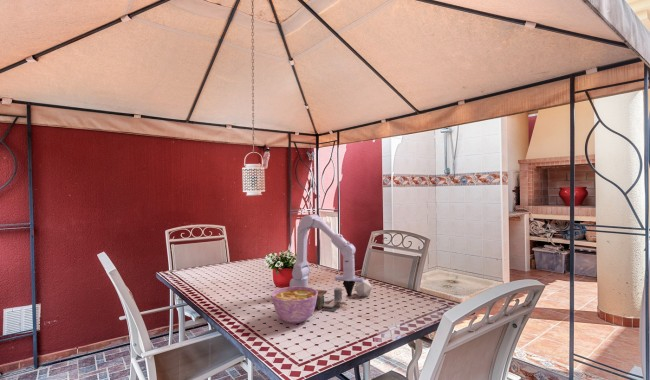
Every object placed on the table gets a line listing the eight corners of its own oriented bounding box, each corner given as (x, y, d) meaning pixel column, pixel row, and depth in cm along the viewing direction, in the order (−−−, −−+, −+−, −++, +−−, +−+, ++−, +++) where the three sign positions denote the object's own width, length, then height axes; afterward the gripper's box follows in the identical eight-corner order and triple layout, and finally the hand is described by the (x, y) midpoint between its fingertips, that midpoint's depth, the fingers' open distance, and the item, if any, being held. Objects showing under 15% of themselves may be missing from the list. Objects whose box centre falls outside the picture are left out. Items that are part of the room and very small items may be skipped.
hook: (312, 307, 153) (311, 294, 153) (323, 297, 167) (323, 286, 167) (331, 309, 150) (331, 297, 150) (341, 299, 163) (341, 288, 163)
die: (367, 300, 163) (376, 283, 167) (351, 291, 165) (361, 274, 168) (365, 301, 171) (373, 284, 175) (350, 292, 173) (359, 276, 176)
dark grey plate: (322, 310, 149) (322, 309, 149) (328, 304, 157) (328, 304, 157) (334, 312, 147) (334, 311, 147) (340, 306, 155) (340, 305, 155)
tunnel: (308, 308, 152) (308, 294, 152) (316, 302, 160) (315, 289, 160) (320, 310, 150) (320, 295, 150) (327, 304, 157) (327, 290, 157)
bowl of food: (276, 311, 149) (276, 286, 149) (319, 311, 149) (319, 286, 149) (267, 329, 129) (267, 301, 129) (317, 329, 129) (316, 300, 129)
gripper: (332, 269, 159) (333, 296, 159) (360, 271, 154) (361, 300, 154) (337, 266, 166) (337, 292, 166) (364, 268, 160) (365, 295, 160)
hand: (349, 296), depth 160 cm, fingers closed
